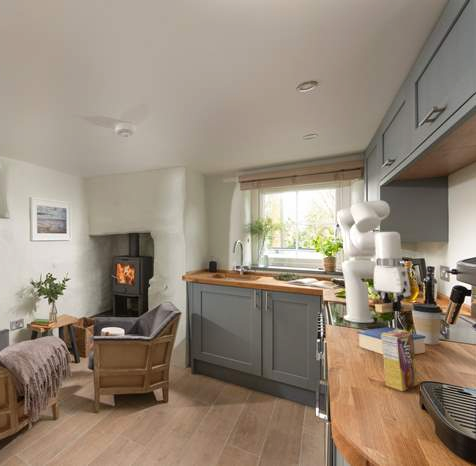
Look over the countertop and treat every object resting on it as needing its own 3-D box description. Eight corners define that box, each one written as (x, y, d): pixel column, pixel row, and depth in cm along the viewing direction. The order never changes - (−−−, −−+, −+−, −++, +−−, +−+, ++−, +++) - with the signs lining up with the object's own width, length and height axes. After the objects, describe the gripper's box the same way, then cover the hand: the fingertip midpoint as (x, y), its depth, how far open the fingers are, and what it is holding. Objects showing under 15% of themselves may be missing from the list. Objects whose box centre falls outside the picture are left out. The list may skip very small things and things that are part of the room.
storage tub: (388, 341, 120) (387, 327, 121) (426, 352, 108) (425, 336, 108) (358, 346, 116) (357, 331, 116) (393, 358, 104) (392, 341, 104)
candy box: (400, 378, 89) (396, 328, 89) (418, 384, 85) (414, 332, 85) (383, 385, 85) (380, 332, 86) (402, 391, 81) (398, 336, 82)
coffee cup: (412, 342, 119) (409, 305, 119) (412, 337, 125) (409, 302, 126) (446, 348, 112) (443, 308, 113) (444, 341, 119) (441, 304, 119)
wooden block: (400, 307, 117) (400, 301, 117) (413, 310, 113) (413, 303, 113) (372, 311, 114) (372, 303, 114) (385, 313, 109) (384, 306, 110)
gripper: (420, 263, 107) (424, 313, 106) (374, 261, 123) (377, 305, 122) (406, 264, 105) (409, 315, 105) (360, 262, 121) (363, 306, 120)
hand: (392, 309), depth 113 cm, fingers closed on wooden block, 2 cm apart
